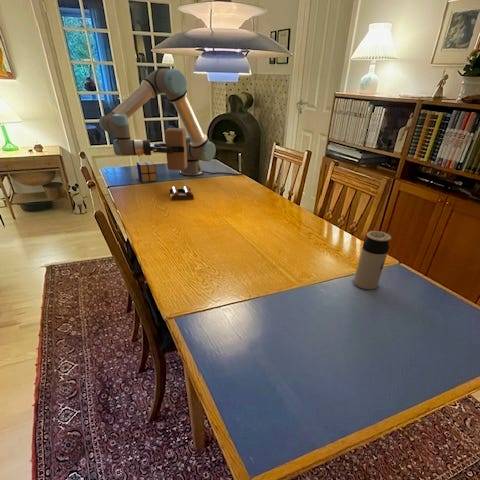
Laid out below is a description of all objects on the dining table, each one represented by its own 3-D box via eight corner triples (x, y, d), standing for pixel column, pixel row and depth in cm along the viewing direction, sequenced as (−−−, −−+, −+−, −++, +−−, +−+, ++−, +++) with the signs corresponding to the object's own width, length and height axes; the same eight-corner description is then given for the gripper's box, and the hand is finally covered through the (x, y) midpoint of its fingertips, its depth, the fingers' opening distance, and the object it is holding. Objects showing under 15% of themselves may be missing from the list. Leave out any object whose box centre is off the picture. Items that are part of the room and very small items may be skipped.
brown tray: (190, 192, 203) (190, 185, 201) (193, 199, 192) (193, 192, 190) (170, 193, 200) (169, 186, 198) (171, 200, 190) (171, 192, 187)
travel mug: (349, 283, 119) (361, 234, 109) (360, 276, 124) (373, 228, 113) (370, 292, 115) (384, 242, 104) (381, 284, 119) (396, 235, 109)
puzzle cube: (138, 178, 225) (136, 162, 219) (153, 177, 228) (151, 161, 223) (141, 182, 218) (139, 165, 212) (157, 180, 221) (155, 164, 215)
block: (185, 170, 193) (182, 130, 182) (167, 170, 193) (163, 130, 182) (187, 166, 201) (185, 128, 190) (170, 166, 201) (167, 127, 190)
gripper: (144, 151, 199) (181, 150, 203) (144, 159, 180) (185, 159, 185) (142, 136, 195) (180, 136, 199) (142, 144, 176) (184, 143, 180)
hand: (183, 147), depth 192 cm, fingers closed on block, 12 cm apart
